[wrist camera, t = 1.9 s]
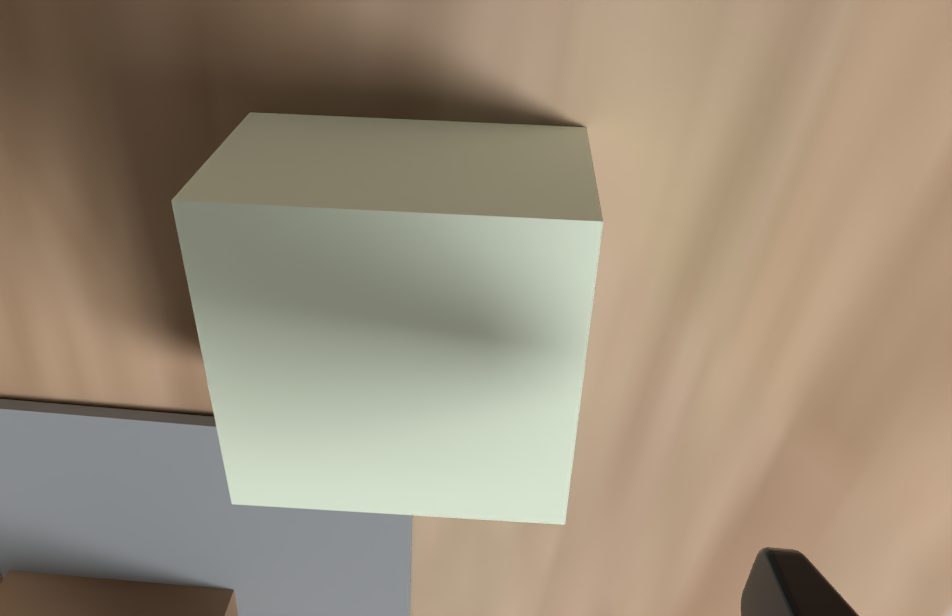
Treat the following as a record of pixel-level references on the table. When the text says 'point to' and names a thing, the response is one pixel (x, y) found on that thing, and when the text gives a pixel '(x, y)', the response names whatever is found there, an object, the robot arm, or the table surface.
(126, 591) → the walnut block lower
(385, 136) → the sage block
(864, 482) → the table surface
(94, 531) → the slate mat
